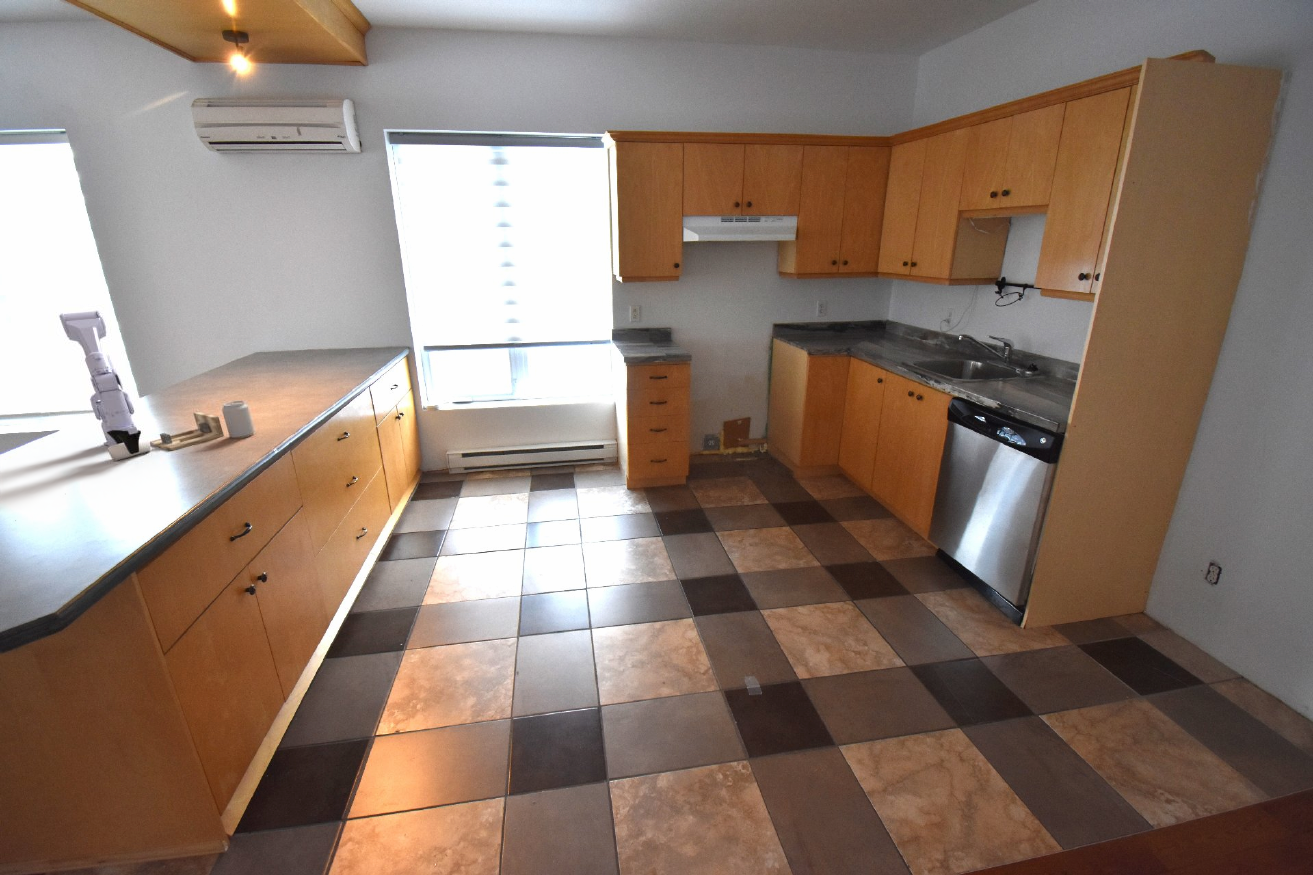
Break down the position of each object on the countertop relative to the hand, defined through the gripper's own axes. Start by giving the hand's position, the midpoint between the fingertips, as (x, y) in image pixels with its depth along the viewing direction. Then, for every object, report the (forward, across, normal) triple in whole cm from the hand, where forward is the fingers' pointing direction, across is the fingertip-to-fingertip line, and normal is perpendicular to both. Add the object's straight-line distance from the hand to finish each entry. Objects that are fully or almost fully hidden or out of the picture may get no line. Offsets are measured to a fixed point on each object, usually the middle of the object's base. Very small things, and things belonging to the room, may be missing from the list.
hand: (130, 451), depth 191 cm
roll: (+1, 0, 0) cm, 1 cm away
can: (+2, +13, +27) cm, 30 cm away
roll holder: (+1, 0, +16) cm, 16 cm away
